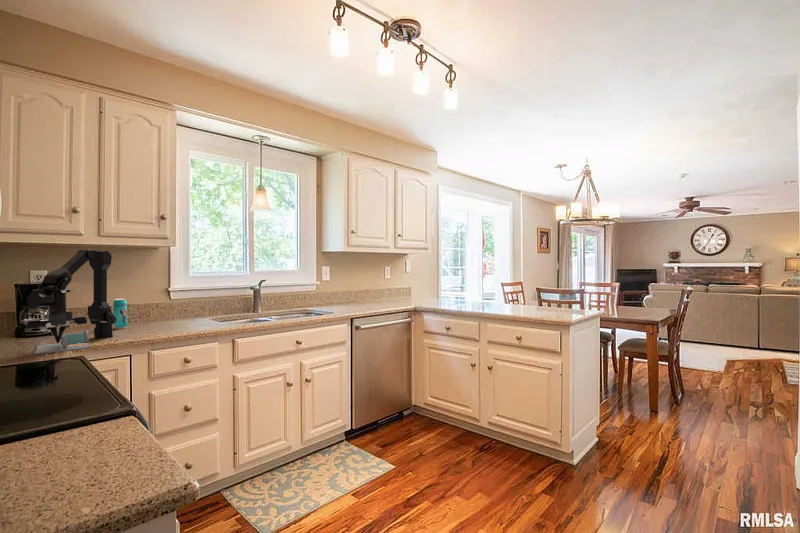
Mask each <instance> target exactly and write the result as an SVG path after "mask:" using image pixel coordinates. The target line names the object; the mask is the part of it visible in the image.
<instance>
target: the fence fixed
mask: <svg viewBox="0 0 800 533" xmlns="http://www.w3.org/2000/svg"><path fill="white" fill-rule="evenodd" d="M65 336H67V345H70V344H77V343H88V342H90V340H89V330H87V329H86V330H83V332H76V333H65Z"/></svg>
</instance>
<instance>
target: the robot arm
mask: <svg viewBox="0 0 800 533" xmlns="http://www.w3.org/2000/svg"><path fill="white" fill-rule="evenodd" d="M112 259H113V256H112V253H110V251H108V250H93V249H89V248H88V249H84V248H83V249H79V250H77V252H76V253H75V255H73V256H72V257H71V258H70V259H69V260H68V261H66V262H65V263H64V264H63V265H62V266H61V267H59V268H57V269H54V270H52V271H50V272H48V273H47V274H45V275H44V277H43V280H42V282H41V283H40V284H39V287H38V288H37V289H32V290H31V293H30V294H28V296H27V298H26V303H27V304H28V306H29V307H30V308H32V309H36V308H37V309H38V308H43V307H47V317H48V318H47V319H46V320H45V319H44V320H40V318H35V319H34V318H33V319H28V320H26V329H27V330H28V329H38V328H39V327H41V326H45V330H50V331H51V333H52V334H53V336H54V339H55V341H56V343H61V336H62V334H63V333H64V331H65V330H66V328H70V325H69V324H72V323H74V324H77V325H84V324H88V320H89V322H90V324H91V325H95V326H94V327H93V338H94V337H95V339H96V338H97V339H102V338H103V339H104V338H105V339H107V338H113V337H114V334H113V325H114V323H116V320H117V318H116V317H115V316H114V313H112V307H111V306H110V304H109V303H108V300H107V299H108V293H107V292H108V290H107V289H108V287H107V286H108V284H107V282H108V269H109V268H110V266H111V265H112ZM87 262H88V265H89V266H90V267H91V269H92V271H93V274H92V275H93V279H92V280H93V284H92V285H93V293H92V294H93V295H92V296H93V302H92V303H91V305H88V306H87V314H86V315H87V316H88V318H87V317H86V316H85V315H75V316H74V315H73V311H67V293H71V289H69V288H68V286H69V285H70V284H71V281H72V279H73V275H74V274H75V273H77V272H78V270H79V269H81V268H82V267H83V266H84V265H85V264H86V263H87ZM57 326H58V331H57Z"/></svg>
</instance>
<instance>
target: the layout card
mask: <svg viewBox="0 0 800 533" xmlns="http://www.w3.org/2000/svg"><path fill="white" fill-rule="evenodd" d="M89 348H90V343H89V344H87V345H82V346H75V347H67V348H62V345H61V342H59V343H57V342H56V343H47V344H40V345H37V346H36V349H35V351H34V355H42V354H50V353H56V352H58V353H59V352H67V351H77V350H82V349H84V350H85V349H89Z"/></svg>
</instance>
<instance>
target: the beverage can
mask: <svg viewBox="0 0 800 533" xmlns="http://www.w3.org/2000/svg"><path fill="white" fill-rule="evenodd" d="M127 305H128V302H127V300H126V298H115V299H114V298H113V302H112V306H113V307H112V309H113V315H114V316H115V317H116V318H117V320H116V323H114V324H113V327H114V328H115V329H116V330H121V329H122V330H123V329H127V326H128V306H127Z"/></svg>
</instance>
